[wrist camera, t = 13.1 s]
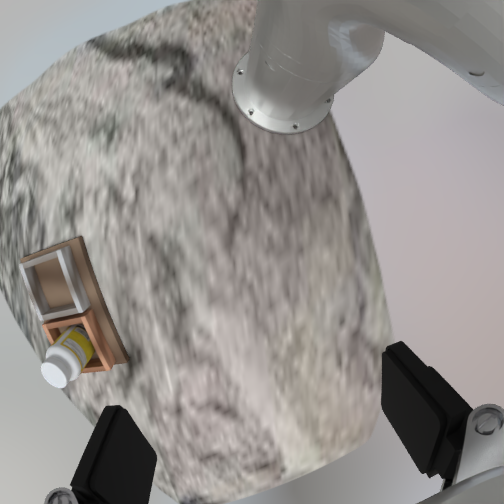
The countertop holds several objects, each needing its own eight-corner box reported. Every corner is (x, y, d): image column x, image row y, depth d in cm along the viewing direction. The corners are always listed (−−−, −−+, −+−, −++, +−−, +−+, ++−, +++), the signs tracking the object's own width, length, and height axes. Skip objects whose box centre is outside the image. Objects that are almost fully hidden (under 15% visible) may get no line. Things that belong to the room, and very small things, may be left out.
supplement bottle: (73, 353, 37) (44, 389, 28) (63, 322, 36) (30, 354, 26) (102, 355, 38) (76, 395, 28) (92, 323, 36) (62, 358, 27)
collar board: (24, 257, 35) (10, 263, 31) (82, 235, 35) (68, 241, 31) (70, 365, 39) (61, 378, 35) (129, 358, 39) (122, 372, 36)
